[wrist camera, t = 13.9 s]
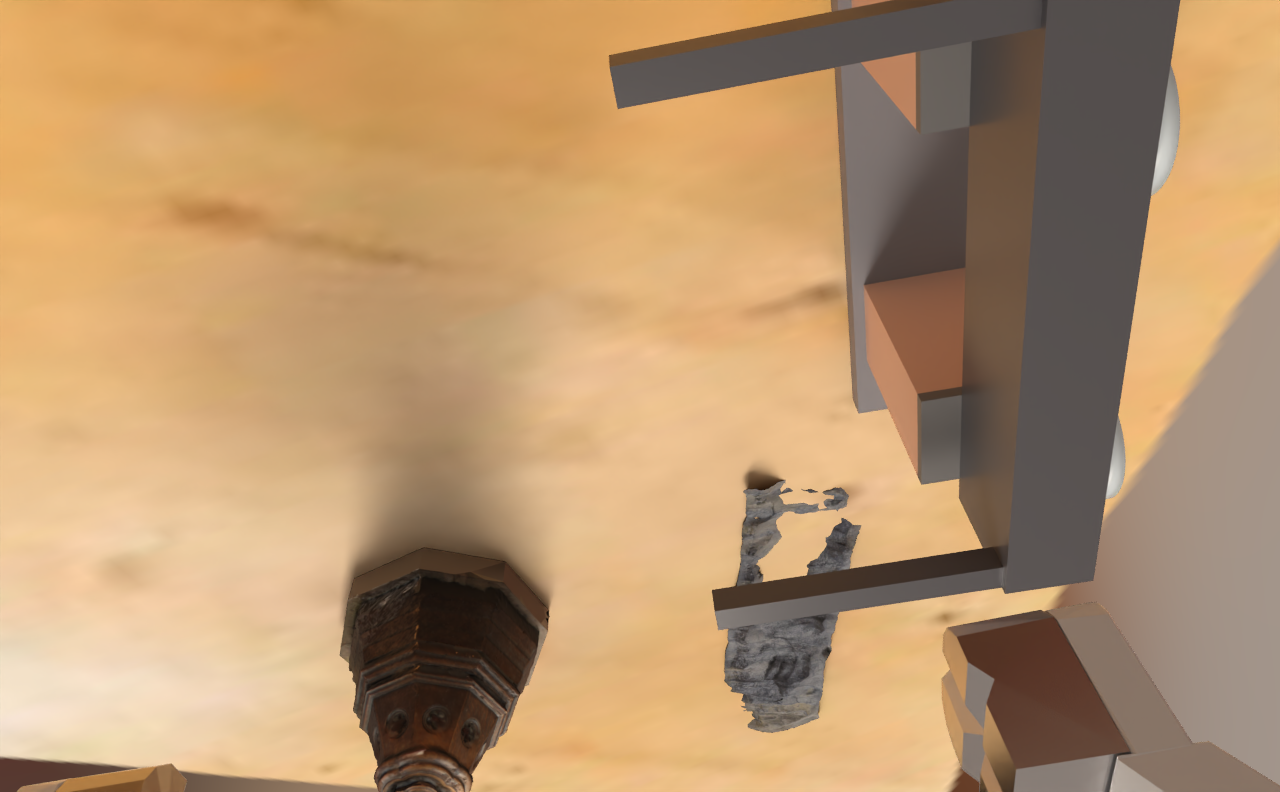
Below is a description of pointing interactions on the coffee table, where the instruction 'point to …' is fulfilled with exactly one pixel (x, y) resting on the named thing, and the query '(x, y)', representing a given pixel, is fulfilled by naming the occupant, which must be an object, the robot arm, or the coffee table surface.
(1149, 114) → the glasses
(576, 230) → the coffee table surface
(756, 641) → the driftwood
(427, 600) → the bird statue
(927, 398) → the stand
